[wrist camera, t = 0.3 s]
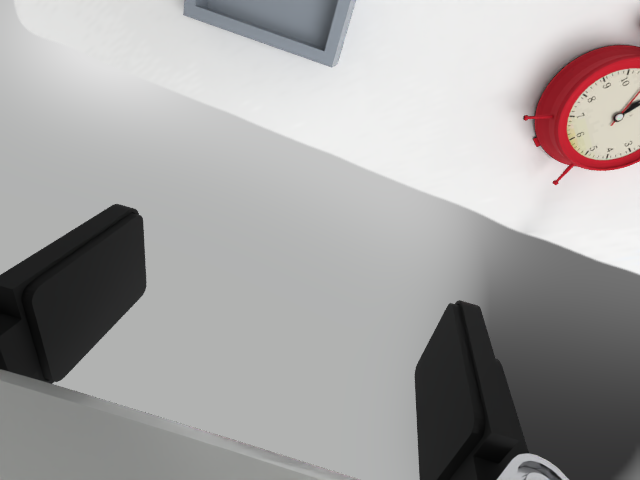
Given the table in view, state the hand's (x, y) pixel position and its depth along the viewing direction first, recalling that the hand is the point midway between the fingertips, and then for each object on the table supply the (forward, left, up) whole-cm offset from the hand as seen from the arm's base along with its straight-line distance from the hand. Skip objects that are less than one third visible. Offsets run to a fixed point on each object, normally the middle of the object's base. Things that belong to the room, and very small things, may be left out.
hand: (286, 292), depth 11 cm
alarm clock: (-8, +21, -31) cm, 38 cm away
